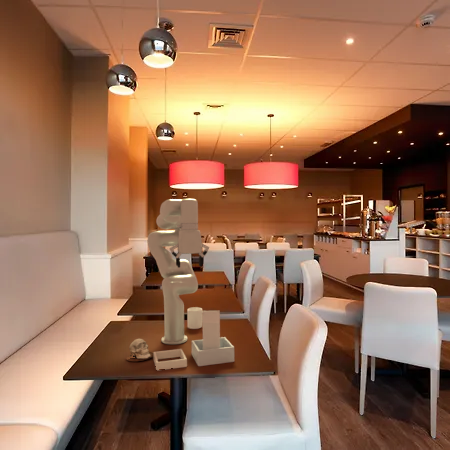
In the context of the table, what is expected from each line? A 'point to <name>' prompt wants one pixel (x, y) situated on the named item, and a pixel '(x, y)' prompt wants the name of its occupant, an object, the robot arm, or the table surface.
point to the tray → (171, 363)
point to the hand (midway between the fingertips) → (189, 266)
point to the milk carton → (211, 330)
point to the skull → (139, 350)
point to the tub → (213, 353)
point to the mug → (194, 317)
